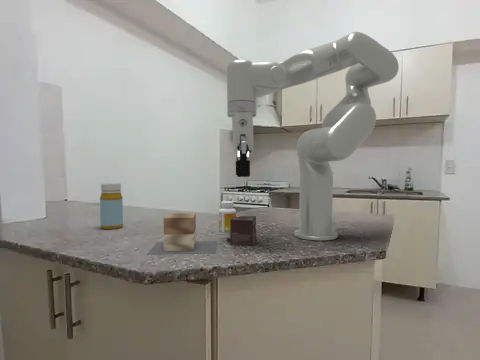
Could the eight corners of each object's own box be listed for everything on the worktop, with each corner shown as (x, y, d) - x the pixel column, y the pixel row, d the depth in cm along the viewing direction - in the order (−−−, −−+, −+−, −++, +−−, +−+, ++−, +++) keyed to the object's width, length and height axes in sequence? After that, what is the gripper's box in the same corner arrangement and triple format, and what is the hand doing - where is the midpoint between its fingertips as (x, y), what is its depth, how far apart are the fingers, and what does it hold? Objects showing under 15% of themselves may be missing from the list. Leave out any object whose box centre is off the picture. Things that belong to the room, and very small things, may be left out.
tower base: (195, 243, 84) (195, 228, 83) (193, 250, 77) (193, 234, 76) (168, 244, 83) (168, 228, 83) (163, 251, 76) (163, 234, 76)
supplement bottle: (239, 231, 102) (239, 201, 101) (230, 235, 97) (230, 203, 96) (225, 230, 104) (224, 200, 104) (215, 233, 100) (215, 202, 99)
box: (252, 248, 81) (253, 219, 81) (229, 247, 82) (229, 219, 82) (256, 242, 87) (256, 216, 87) (234, 241, 88) (234, 215, 88)
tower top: (195, 228, 83) (195, 213, 83) (193, 234, 76) (193, 217, 76) (168, 228, 83) (168, 213, 83) (163, 234, 76) (163, 217, 76)
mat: (217, 243, 86) (217, 241, 86) (216, 255, 74) (216, 253, 74) (157, 244, 86) (157, 241, 86) (146, 256, 74) (146, 254, 74)
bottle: (101, 226, 111) (101, 183, 110) (123, 225, 113) (122, 182, 112) (99, 230, 104) (98, 184, 103) (122, 229, 106) (121, 183, 105)
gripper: (259, 104, 75) (260, 177, 76) (253, 115, 92) (253, 174, 93) (227, 104, 75) (228, 177, 75) (227, 115, 92) (228, 175, 93)
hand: (242, 176), depth 84 cm, fingers open, 9 cm apart
